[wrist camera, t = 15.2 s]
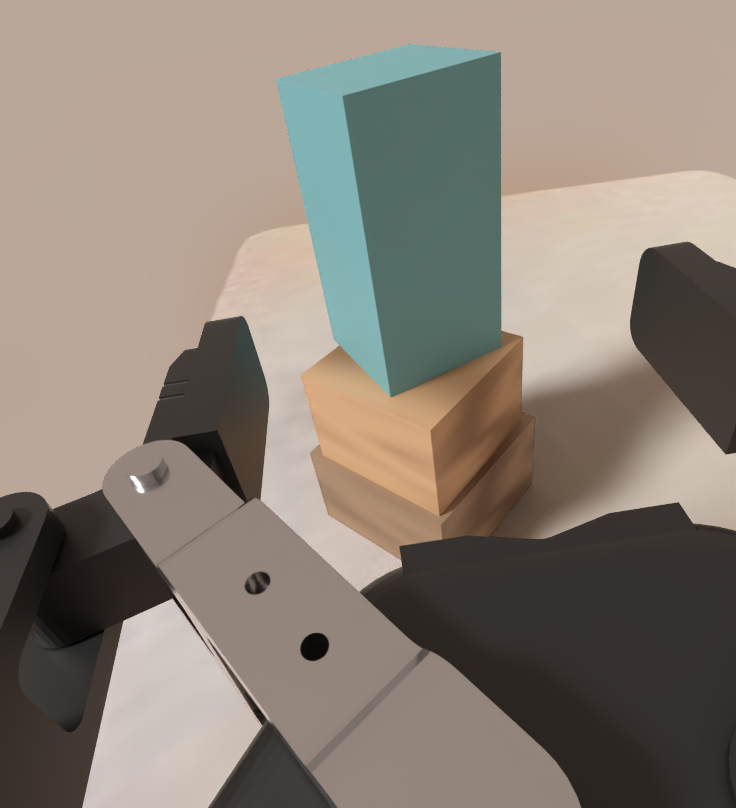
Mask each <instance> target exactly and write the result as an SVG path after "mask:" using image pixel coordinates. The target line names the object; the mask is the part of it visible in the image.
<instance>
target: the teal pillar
mask: <svg viewBox="0 0 736 808" xmlns="http://www.w3.org/2000/svg"><path fill="white" fill-rule="evenodd" d="M276 81H277V86H278V90H279V95H280V99H281V104H282V108H283V113H284V117H285V122H286V126H287V131H288V135H289V140H290V144H291V149H292V153H293V158H294V162H295V167H296V171H297V175H298V180H299V185H300V189H301V193H302V198H303V203H304V207H305V211H306V216H307V221H308V225H309V230H310V234H311V239H312V243H313V248H314V252H315V257H316V261H317V266H318V270H319V275H320V279H321V283H322V288H323V292H324V297H325V301H326V306H327V310H328V315H329V319H330V324H331V328H332V333H333V337H334V340H335V341H336V342H337V343H338V344H339V345H340V346H341V347H342V348H343V349H344V350H345V351H346V352H347V353H348V354H349V355H350V356H351V358H352V359H353V360H354V361H355V362H356V363H357V364H358V365H359V366H360V367H361V368H362V369H363V370H364V371H365V372H366V373H367V374H368V375H369V376H370V377H371V378H372V379H373V380H374V381H375V382H376V383H377V384H378V385H379V386H380V387H381V388H382V389H383V390H384V391H385V392H386V393H387V394H388V395H389V396H390V397H393V396H395V395H397V394H400V393H402V392H404V391H406V390H408V389H411V388H413V387H415V386H417V385H419V384H422V383H424V382H426V381H428V380H430V379H433V378H435V377H437V376H439V375H441V374H444V373H446V372H448V371H450V370H452V369H455V368H457V367H459V366H461V365H463V364H466V363H468V362H470V361H472V360H474V359H477V358H479V357H481V356H483V355H485V354H488V353H490V352H492V351H494V350H496V349H499V348H501V52H494V51H481V50H470V49H458V48H446V47H435V46H423V45H411V44H409V45H405V46H401V47H397V48H393V49H390V50H385V51H382V52H378V53H374V54H370V55H366V56H362V57H359V58H354V59H350V60H347V61H343V62H339V63H335V64H331V65H327V66H324V67H319V68H316V69H312V70H308V71H304V72H300V73H297V74H293V75H288V76H285V77H281V78H277V79H276Z"/></svg>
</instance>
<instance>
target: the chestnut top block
mask: <svg viewBox="0 0 736 808" xmlns="http://www.w3.org/2000/svg"><path fill="white" fill-rule="evenodd" d="M522 363H523V337H522V336H518V335H514V334H511V333H507V332H504V331H501V348H499V349H496V350H494V351H492V352H490V353H488V354H485V355H483V356H481V357H479V358H477V359H474V360H472V361H470V362H468V363H466V364H463V365H461V366H459V367H457V368H455V369H452V370H450V371H448V372H446V373H444V374H441V375H439V376H437V377H435V378H433V379H430V380H428V381H426V382H424V383H422V384H419V385H417V386H415V387H413V388H411V389H408V390H406V391H404V392H402V393H400V394H397V395H395V396H393V397H390V396H389V395H388V394H387V393H386V392H385V391H384V390H383V389H382V388H381V387H380V386H379V385H378V384H377V383H376V382H375V381H374V380H373V379H372V378H371V377H370V376H369V375H368V374H367V373H366V372H365V371H364V370H363V369H362V368H361V367H360V366H359V365H358V364H357V363H356V362H355V361H354V360H353V359H352V358H351V356H350V355H349V354H348V353H347V352H346V351H345V350H344V349H343V348H342V347H341V346H338V347H337V348H336V349H335V350H333V351H332V352H331V353H329V354H328V355H327V356H325V357H324V358H323V359H321V360H320V361H319V362H317V363H316V364H315V365H313V366H312V367H311V368H309V369H308V370H307V371H305V372H304V373H303V374H302V375H301V379H302V382H303V386H304V390H305V393H306V397H307V400H308V404H309V407H310V411H311V415H312V418H313V422H314V425H315V429H316V433H317V436H318V440H319V443H320V447H321V450H322V454H323V456H325V457H327V458H329V459H331V460H333V461H335V462H337V463H338V464H340V465H342V466H344V467H346V468H348V469H350V470H352V471H354V472H356V473H357V474H359V475H361V476H363V477H365V478H367V479H369V480H371V481H373V482H375V483H376V484H378V485H380V486H382V487H384V488H386V489H388V490H390V491H392V492H394V493H395V494H397V495H399V496H401V497H403V498H405V499H407V500H409V501H411V502H413V503H414V504H416V505H418V506H420V507H422V508H424V509H426V510H428V511H430V512H432V513H434V514H435V515H437V516H439V517H440V516H441V514H442V513H443V512H444V511H445V510H446V509H447V507H448V506H449V505H450V504H451V503H452V502H453V500H454V499H455V498H456V497H457V496H458V495H459V493H460V492H461V491H462V490H463V489H464V488H465V487H466V485H467V484H468V483H469V482H470V481H471V480H472V478H473V477H474V476H475V475H476V474H477V473H478V471H479V470H480V469H481V468H482V467H483V466H484V464H485V463H486V462H487V461H488V460H489V459H490V457H491V456H492V455H493V454H494V453H495V452H496V450H497V449H498V448H499V447H500V446H501V445H502V444H503V442H504V441H505V440H506V439H507V438H508V437H509V435H510V434H511V433H512V432H513V431H514V430H515V428H516V427H517V426H518V425H519V424H520V423H521V398H522Z"/></svg>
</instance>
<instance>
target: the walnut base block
mask: <svg viewBox="0 0 736 808" xmlns="http://www.w3.org/2000/svg"><path fill="white" fill-rule="evenodd" d="M534 427H535V417H533V416H530V415H527V414H525V413H522V412H521V423H520V424H519V425H518V426H517V427H516V428H515V430H514V431H513V432H512V433H511V434H510V435H509V437H508V438H507V439H506V440H505V441H504V442H503V444H502V445H501V446H500V447H499V448H498V449H497V450H496V452H495V453H494V454H493V455H492V456H491V457H490V459H489V460H488V461H487V462H486V463H485V464H484V466H483V467H482V468H481V469H480V470H479V471H478V473H477V474H476V475H475V476H474V477H473V478H472V480H471V481H470V482H469V483H468V484H467V485H466V487H465V488H464V489H463V490H462V491H461V492H460V493H459V495H458V496H457V497H456V498H455V499H454V500H453V502H452V503H451V504H450V505H449V506H448V507H447V509H446V510H445V511H444V512H443V513H442V514H441V516H440V517H439V516H437V515H435V514H434V513H432V512H430V511H428V510H426V509H424V508H422V507H420V506H418V505H416V504H414V503H413V502H411V501H409V500H407V499H405V498H403V497H401V496H399V495H397V494H395V493H394V492H392V491H390V490H388V489H386V488H384V487H382V486H380V485H378V484H376V483H375V482H373V481H371V480H369V479H367V478H365V477H363V476H361V475H359V474H357V473H356V472H354V471H352V470H350V469H348V468H346V467H344V466H342V465H340V464H338V463H337V462H335V461H333V460H331V459H329V458H327V457H325V456H323V454H322V450H321V447H320V445H319V446H317V447H316V448H315V449H314V450H313V451H311V452H310V455H311V458H312V462H313V465H314V468H315V472H316V475H317V478H318V482H319V485H320V488H321V492H322V495H323V499H324V502H325V505H326V509H327V512H328V515H330V516H331V517H333V518H334V519H336V520H338V521H339V522H341V523H342V524H344V525H346V526H347V527H349V528H350V529H352V530H354V531H355V532H357V533H358V534H360V535H362V536H363V537H365V538H366V539H368V540H370V541H371V542H373V543H374V544H376V545H378V546H379V547H381V548H382V549H384V550H386V551H387V552H389V553H390V554H392V555H393V556H395V557H397V558H398V559H400V560H401V555H400V548H399V546H403V545H409V544H416V543H422V542H429V541H435V540H441V539H448V538H454V537H461V536H485V537H490V535H491V534H492V533H493V532H494V530H495V529H496V528H497V527H498V525H499V524H500V523H501V522H502V520H503V519H504V518H505V516H506V515H507V514H508V513H509V511H510V510H511V509H512V508H513V506H514V505H515V504H516V503H517V501H518V500H519V499H520V498H521V496H522V495H523V494H524V492H525V491H526V490H527V489H528V487H529V486H530V485H531V484H532V467H533V447H534Z"/></svg>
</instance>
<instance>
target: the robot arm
mask: <svg viewBox="0 0 736 808" xmlns="http://www.w3.org/2000/svg"><path fill="white" fill-rule="evenodd" d="M630 329H631V335H632V339H633V341H634V344H635V346H636V347H637V349H638V350H639V351H640V352H641V354H642V355H643V356H644V357H645V358H646V360H647V361H648V362H649V363H650V364H651V366H652V367H653V368H654V369H655V370H656V372H657V373H658V374H659V375H660V376H661V378H662V379H663V380H664V381H665V382H666V384H667V385H668V386H669V387H670V388H671V390H672V391H673V392H674V393H675V394H676V396H677V397H678V398H679V399H680V400H681V402H682V403H683V404H684V405H685V406H686V408H687V409H688V410H689V411H690V412H691V414H692V415H693V416H694V417H695V418H696V420H697V421H698V422H699V423H700V424H701V426H702V427H703V428H704V429H705V430H706V432H707V433H708V434H709V435H710V436H711V438H712V439H713V440H714V441H715V442H716V444H717V445H718V446H719V447H720V448H721V449H722V451H723V452H724V453H725V454H731V453H736V268H734V267H731V266H728V265H726V264H723V263H720V262H716V261H715V260H714V259H712V258H711V257H710V256H708V255H707V254H706V253H704V252H703V251H702V250H700V249H699V248H698V247H696V246H695V245H694V244H692V243H690V242H682V243H676V244H670V245H664V246H659V247H653V248H648V249H646V250H645V251H644V253H643V254H642V256H641V259H640V264H639V270H638V276H637V282H636V288H635V294H634V299H633V305H632V311H631V318H630ZM159 399H160V401H158V402H157V405H156V408H155V410H154V414H153V416H152V419H151V422H150V425H149V428H148V431H147V434H146V437H145V439H144V443H143V445H141V446H139V447H136V448H135V449H132V450H131V451H129V452H127V453H126V454H124V455H123V456H122V457H120V458H119V459H118V460H117V461H116V462H115V463H114V464H113V465H112V466H111V467H110V469H109V470H108V471H107V473H106V475H105V477H104V480H103V485H102V490H99V491H97V492H95V493H93V494H90V495H88V496H85V497H82V498H80V499H78V500H75V501H72V502H70V503H67V504H65V505H62V506H60V507H57V508H55V509H52V508H51V507H50V506H49V504H48V503H47V502H46V500H45V499H44V498H43V497H42V496H40V495H38V494H36V493H31V492H20V493H14V494H10V495H6V496H4V497H1V498H0V808H82V806H83V801H84V797H85V792H86V788H87V783H88V778H89V774H90V769H91V765H92V760H93V756H94V751H95V747H96V742H97V738H98V733H99V729H100V724H101V719H102V715H103V710H104V706H105V701H106V697H107V692H108V688H109V683H110V679H111V674H112V670H113V665H114V660H115V656H116V651H117V647H118V642H119V638H120V633H121V629H122V624H123V621H124V620H126V619H128V618H130V617H133V616H135V615H137V614H139V613H141V612H144V611H146V610H148V609H150V608H152V607H155V606H157V605H159V604H161V603H163V602H166V601H168V600H170V599H172V600H173V602H174V603H175V604H176V606H177V607H178V609H179V610H180V612H181V613H182V614H183V616H184V617H185V619H186V620H187V621H188V623H189V624H190V626H191V627H192V628H193V630H194V631H195V633H196V634H197V635H198V637H199V638H200V640H201V641H202V642H203V644H204V645H205V647H206V648H207V649H208V651H209V652H210V654H211V655H212V656H213V658H214V659H215V661H216V662H217V663H218V665H219V666H220V668H221V669H222V671H223V672H224V673H225V675H226V676H227V678H228V679H229V681H230V682H231V684H232V685H233V687H234V688H235V690H236V691H237V693H238V694H239V696H240V697H241V698H242V700H243V701H244V703H245V704H246V706H247V707H248V709H249V710H250V712H251V713H252V714H253V716H254V717H255V719H256V720H257V721H258V723H259V724H260V726H261V727H262V728H261V729H260V731H259V732H258V734H257V735H256V737H255V738H254V740H253V741H252V743H251V744H250V746H249V747H248V749H247V750H246V752H245V753H244V755H243V756H242V758H241V759H240V761H239V762H238V764H237V765H236V767H235V768H234V770H233V771H232V773H231V774H230V776H229V777H228V779H227V780H226V782H225V783H224V785H223V786H222V788H221V789H220V791H219V792H218V794H217V795H216V797H215V798H214V800H213V801H212V803H211V804H210V806H209V807H208V808H736V531H734V530H730V529H725V528H721V527H715V526H709V525H702V524H693V523H692V521H691V520H690V519H689V517H688V516H687V514H686V513H685V511H684V510H683V508H682V507H681V505H680V504H679V502H678V503H672V504H665V505H659V506H653V507H646V508H640V509H633V510H627V511H621V512H614V513H609V514H606V515H604V516H601V517H599V518H596V519H594V520H592V521H589V522H587V523H584V524H582V525H579V526H577V527H574V528H572V529H569V530H567V531H565V532H562V533H560V534H557V535H555V536H552V537H549V538H546V539H521V538H503V537H485V536H461V537H454V538H448V539H441V540H435V541H429V542H422V543H416V544H409V545H403V546H399V548H400V555H401V561H402V567H401V568H398V569H396V570H393V571H391V572H389V573H387V574H385V575H384V576H382V577H380V578H378V579H376V580H375V581H373V582H372V583H370V584H369V585H368V586H366V587H365V588H363V589H362V590H361V591H360V592H358V591H357V590H356V589H355V588H354V587H353V586H352V585H351V584H350V583H349V582H348V581H347V580H346V579H344V578H343V577H342V576H341V575H340V574H339V573H338V572H337V571H336V570H335V569H334V568H333V567H332V566H331V565H329V564H328V563H327V562H326V561H325V560H324V559H323V558H322V557H321V556H320V555H319V554H318V553H317V552H316V551H314V550H313V549H312V548H311V547H310V546H309V545H308V544H307V543H306V542H305V541H304V540H303V539H302V538H301V537H300V536H298V535H297V534H296V533H295V532H294V531H293V530H292V529H291V528H290V527H289V526H288V525H287V524H286V523H285V522H283V521H282V520H281V519H280V518H279V517H278V516H277V515H276V514H275V513H274V512H273V511H272V510H271V509H270V508H268V507H267V506H266V505H265V504H264V503H263V502H262V501H260V498H261V488H262V477H263V466H264V456H265V445H266V434H267V423H268V413H269V396H268V389H267V384H266V380H265V377H264V374H263V370H262V367H261V364H260V361H259V358H258V355H257V352H256V349H255V346H254V343H253V339H252V336H251V333H250V330H249V327H248V324H247V322H246V320H245V318H244V317H243V316H239V317H233V318H228V319H222V320H216V321H210V322H206V323H205V325H204V328H203V332H202V335H201V339H200V342H199V345H198V348H195V349H190V350H185V351H184V352H183V353H182V354H181V355H180V356H179V357H178V358H177V359H176V361H174V362H173V364H172V365H171V366H170V367H169V370H168V373H167V376H166V379H165V382H164V387H162V390H161V393H160V396H159Z"/></svg>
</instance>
